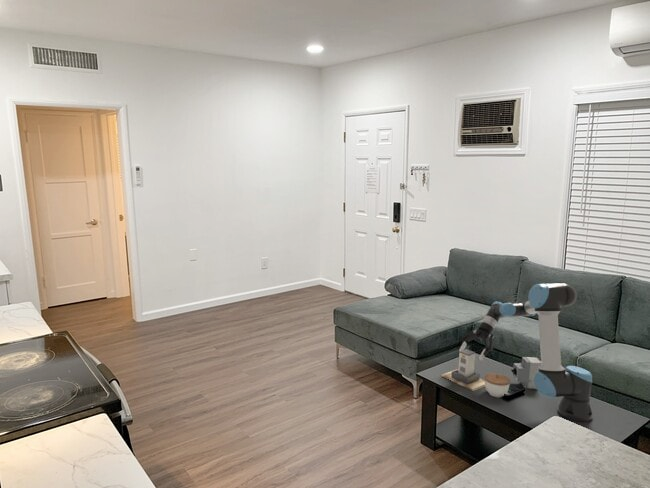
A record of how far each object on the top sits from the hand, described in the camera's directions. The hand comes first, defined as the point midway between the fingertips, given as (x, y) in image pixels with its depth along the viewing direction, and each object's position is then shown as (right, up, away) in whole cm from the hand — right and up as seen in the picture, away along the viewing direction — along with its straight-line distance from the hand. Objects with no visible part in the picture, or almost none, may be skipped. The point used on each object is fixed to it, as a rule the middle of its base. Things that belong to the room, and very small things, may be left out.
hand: (469, 355), depth 265 cm
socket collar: (-3, -13, -1) cm, 13 cm away
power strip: (-3, -13, -1) cm, 13 cm away
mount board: (-3, -14, 0) cm, 14 cm away
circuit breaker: (+29, -16, -5) cm, 33 cm away
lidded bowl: (+9, -17, -16) cm, 25 cm away
